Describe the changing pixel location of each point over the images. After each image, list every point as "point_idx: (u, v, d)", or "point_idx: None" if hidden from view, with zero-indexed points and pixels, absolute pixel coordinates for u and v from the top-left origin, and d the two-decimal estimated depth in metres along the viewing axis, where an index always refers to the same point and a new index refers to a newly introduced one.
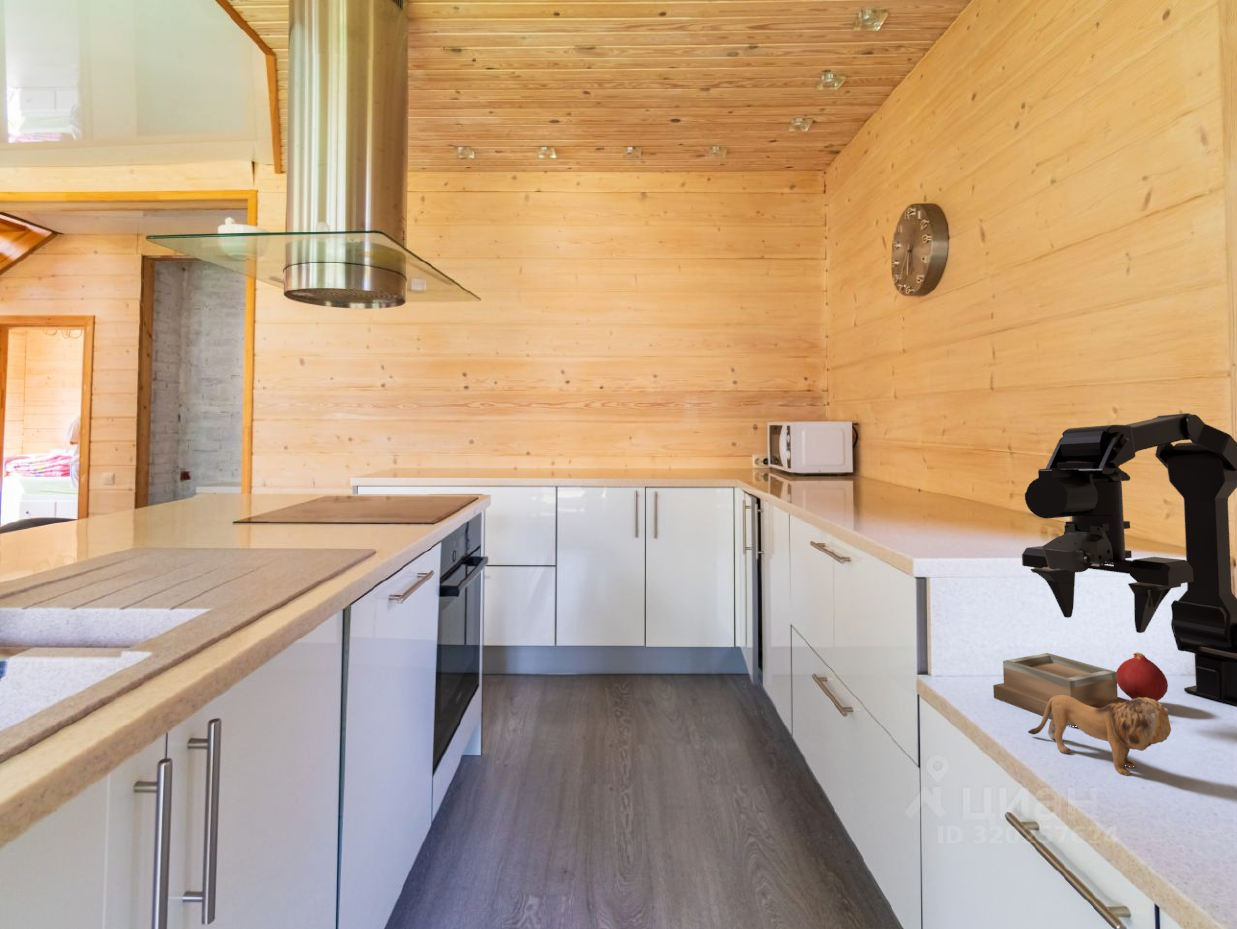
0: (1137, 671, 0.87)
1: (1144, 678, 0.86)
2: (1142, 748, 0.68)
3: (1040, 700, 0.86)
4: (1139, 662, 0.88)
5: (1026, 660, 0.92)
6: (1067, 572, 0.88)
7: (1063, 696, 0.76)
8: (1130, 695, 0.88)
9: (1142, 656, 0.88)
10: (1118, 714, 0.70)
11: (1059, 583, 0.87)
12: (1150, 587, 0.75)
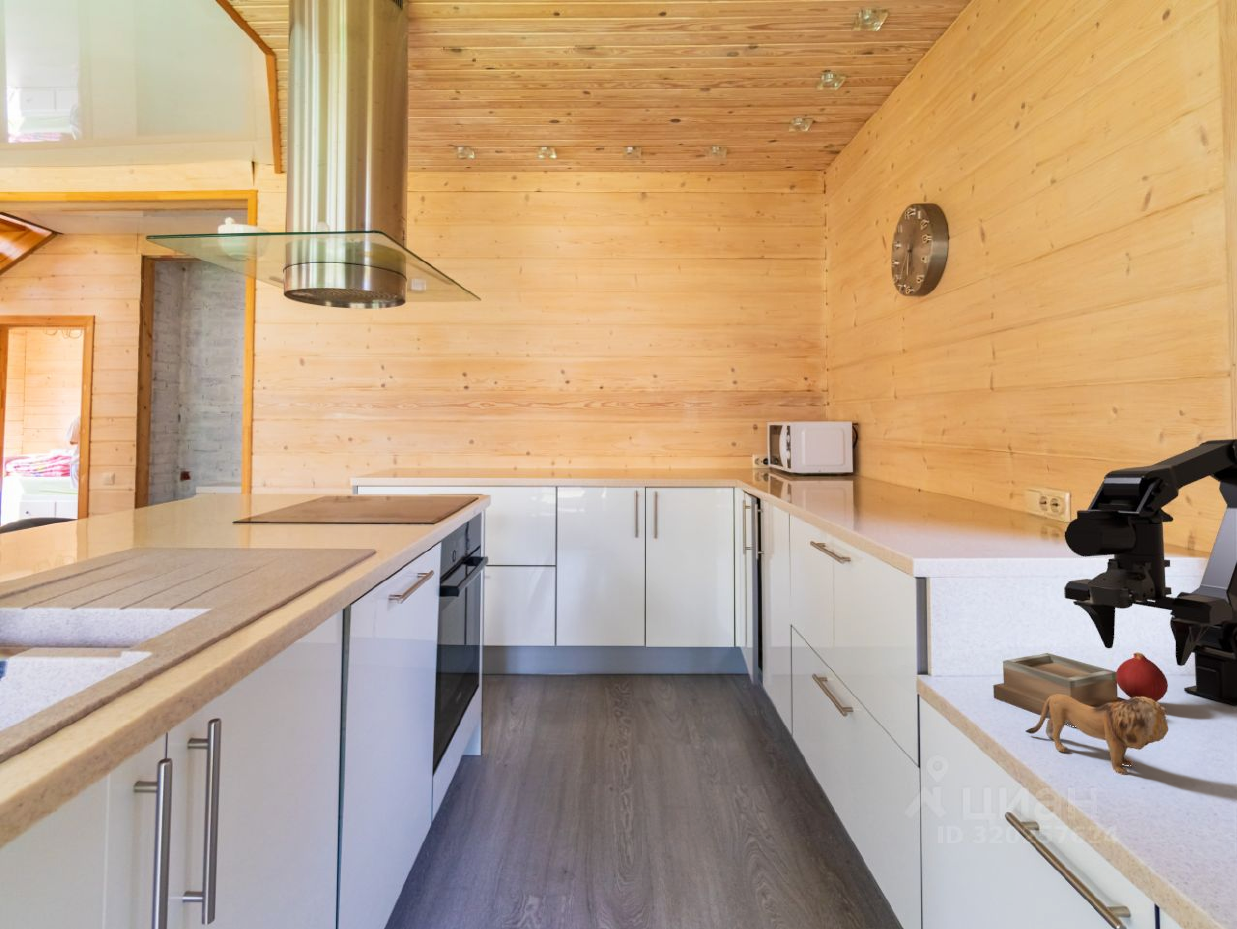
0: (1136, 671, 0.87)
1: (1144, 678, 0.86)
2: (1139, 747, 0.68)
3: (1040, 700, 0.86)
4: (1139, 662, 0.88)
5: (1026, 660, 0.92)
6: (1108, 605, 0.93)
7: (1061, 695, 0.76)
8: (1130, 695, 0.88)
9: (1142, 656, 0.88)
10: (1115, 713, 0.70)
11: (1101, 616, 0.92)
12: (1192, 624, 0.80)
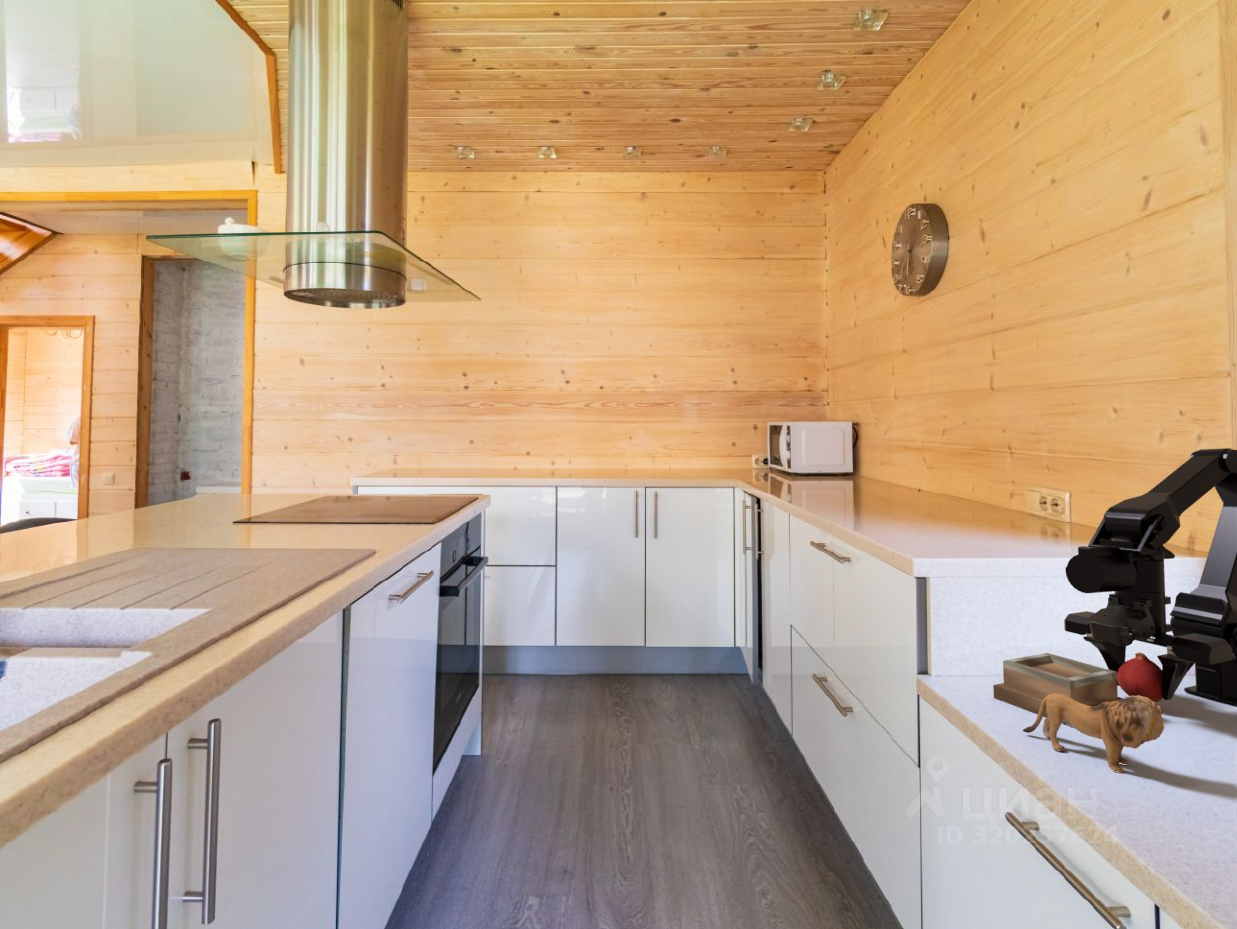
0: (1138, 671, 0.87)
1: (1145, 679, 0.86)
2: (1135, 746, 0.69)
3: (1040, 700, 0.86)
4: (1140, 662, 0.88)
5: (1026, 660, 0.92)
6: None
7: (1057, 694, 0.76)
8: (1131, 695, 0.88)
9: (1144, 656, 0.88)
10: (1111, 712, 0.70)
11: (1111, 653, 0.91)
12: (1178, 661, 0.82)
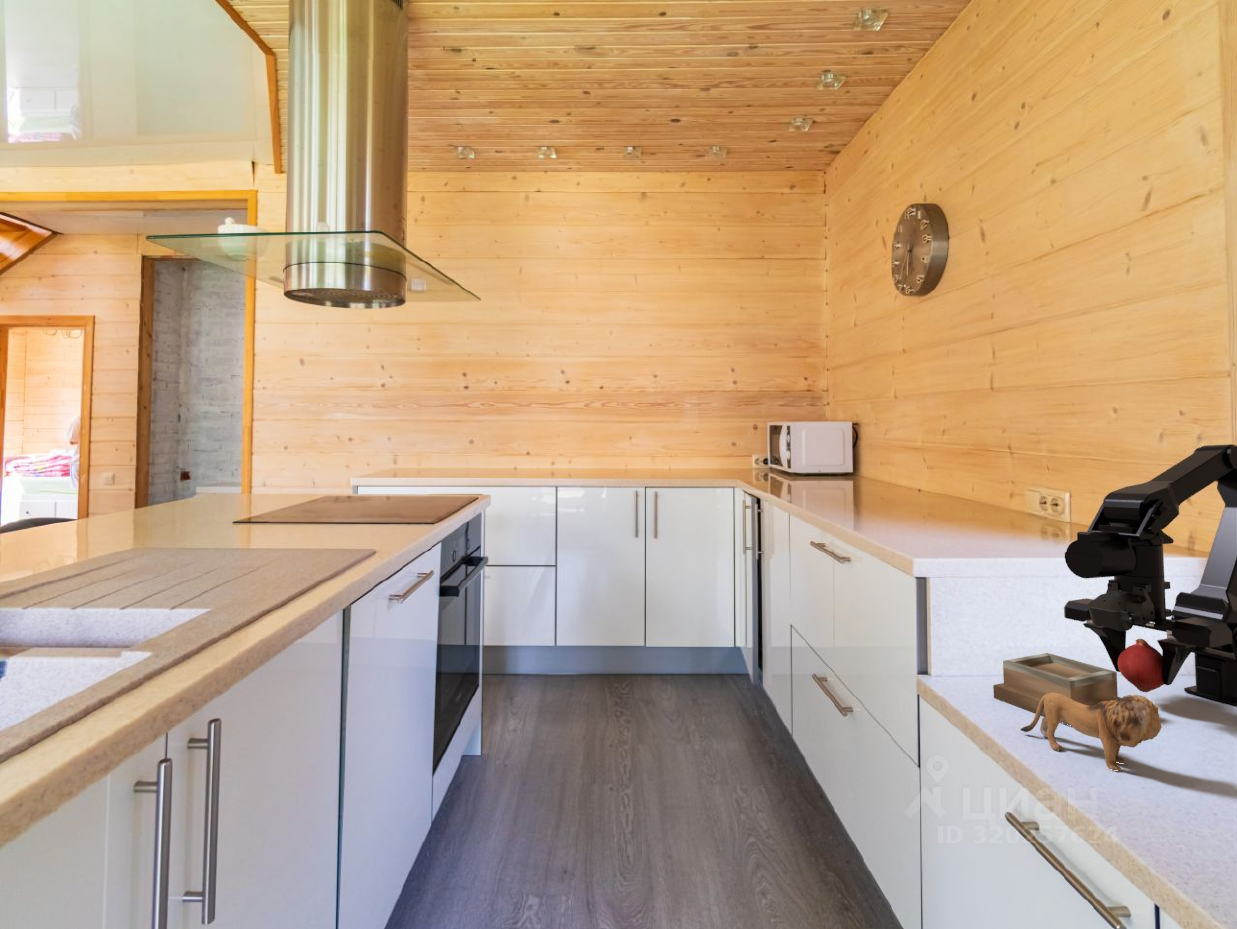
0: (1139, 657, 0.87)
1: (1146, 664, 0.86)
2: (1133, 745, 0.69)
3: None
4: (1141, 648, 0.87)
5: (1026, 660, 0.92)
6: None
7: (1055, 694, 0.77)
8: (1132, 681, 0.88)
9: (1144, 642, 0.88)
10: (1109, 711, 0.70)
11: (1111, 639, 0.91)
12: (1178, 645, 0.81)
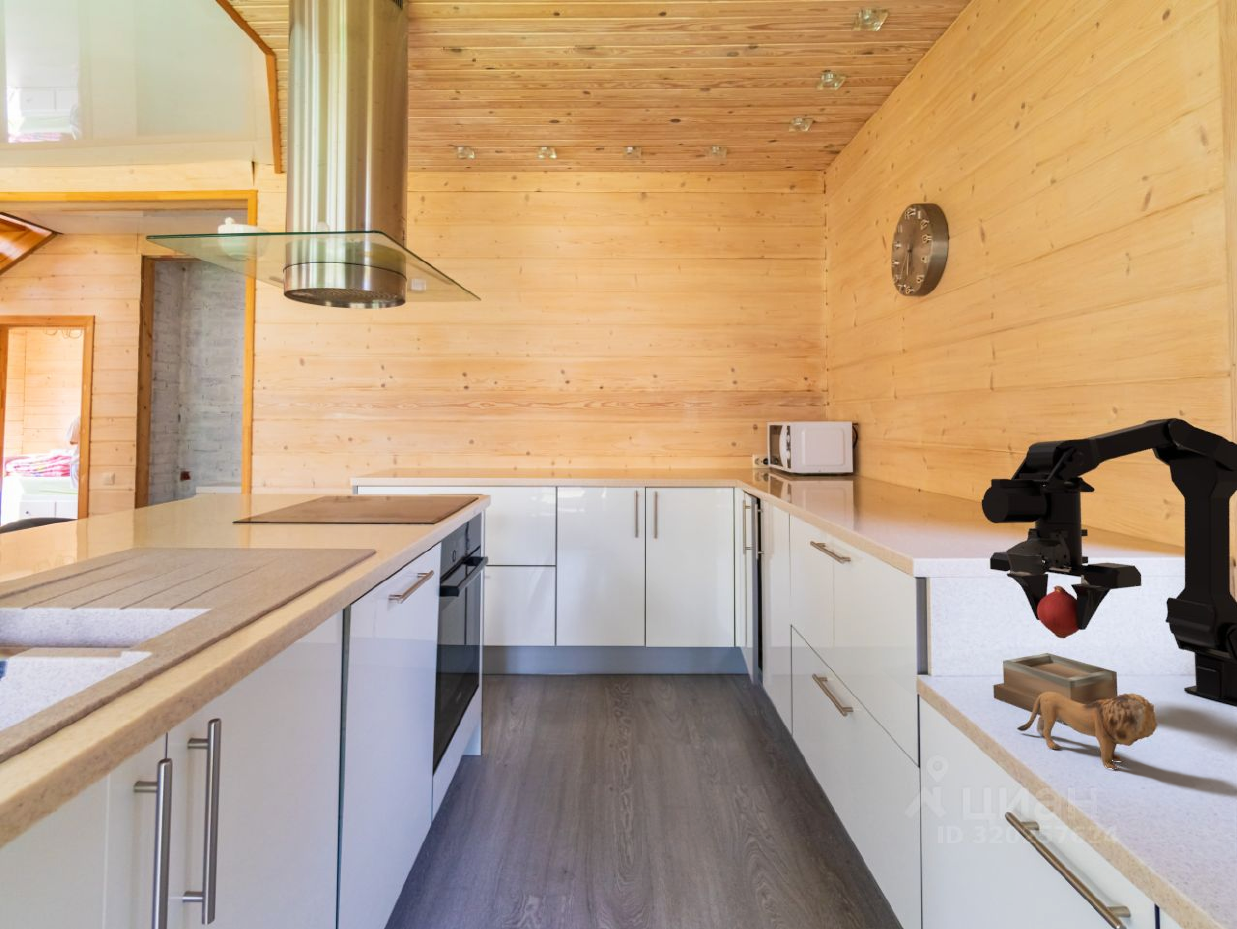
0: (1055, 603, 0.88)
1: (1061, 609, 0.87)
2: (1129, 743, 0.69)
3: None
4: (1058, 594, 0.89)
5: (1026, 660, 0.92)
6: (1040, 577, 0.93)
7: (1052, 693, 0.77)
8: (1049, 627, 0.89)
9: (1062, 589, 0.89)
10: (1105, 710, 0.71)
11: (1032, 588, 0.92)
12: (1089, 588, 0.83)
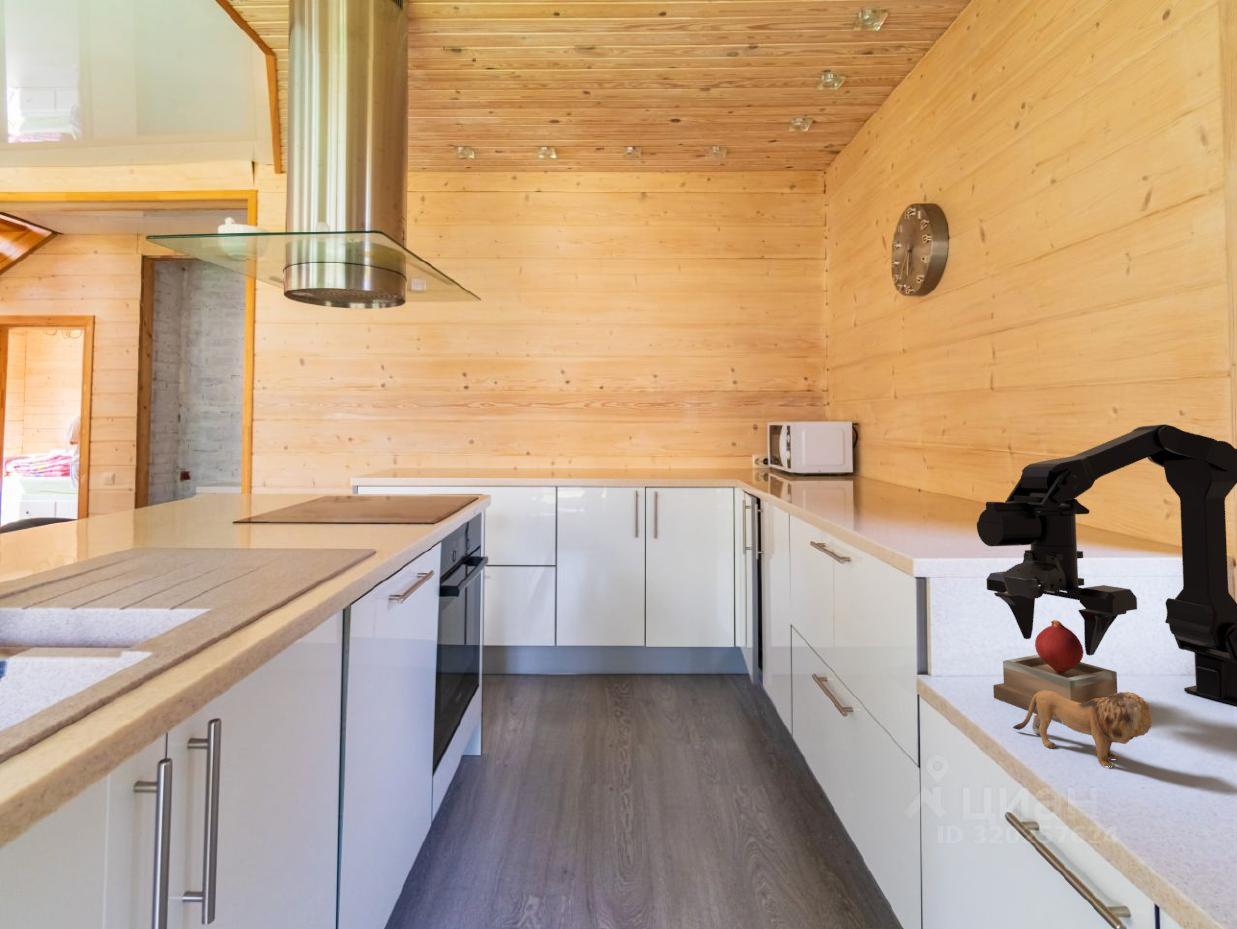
0: (1052, 638, 0.88)
1: (1059, 645, 0.87)
2: (1125, 741, 0.70)
3: None
4: (1055, 629, 0.88)
5: (1026, 660, 0.92)
6: None
7: (1047, 692, 0.78)
8: (1047, 662, 0.89)
9: (1059, 623, 0.89)
10: (1101, 708, 0.71)
11: (1019, 607, 0.94)
12: (1097, 614, 0.81)
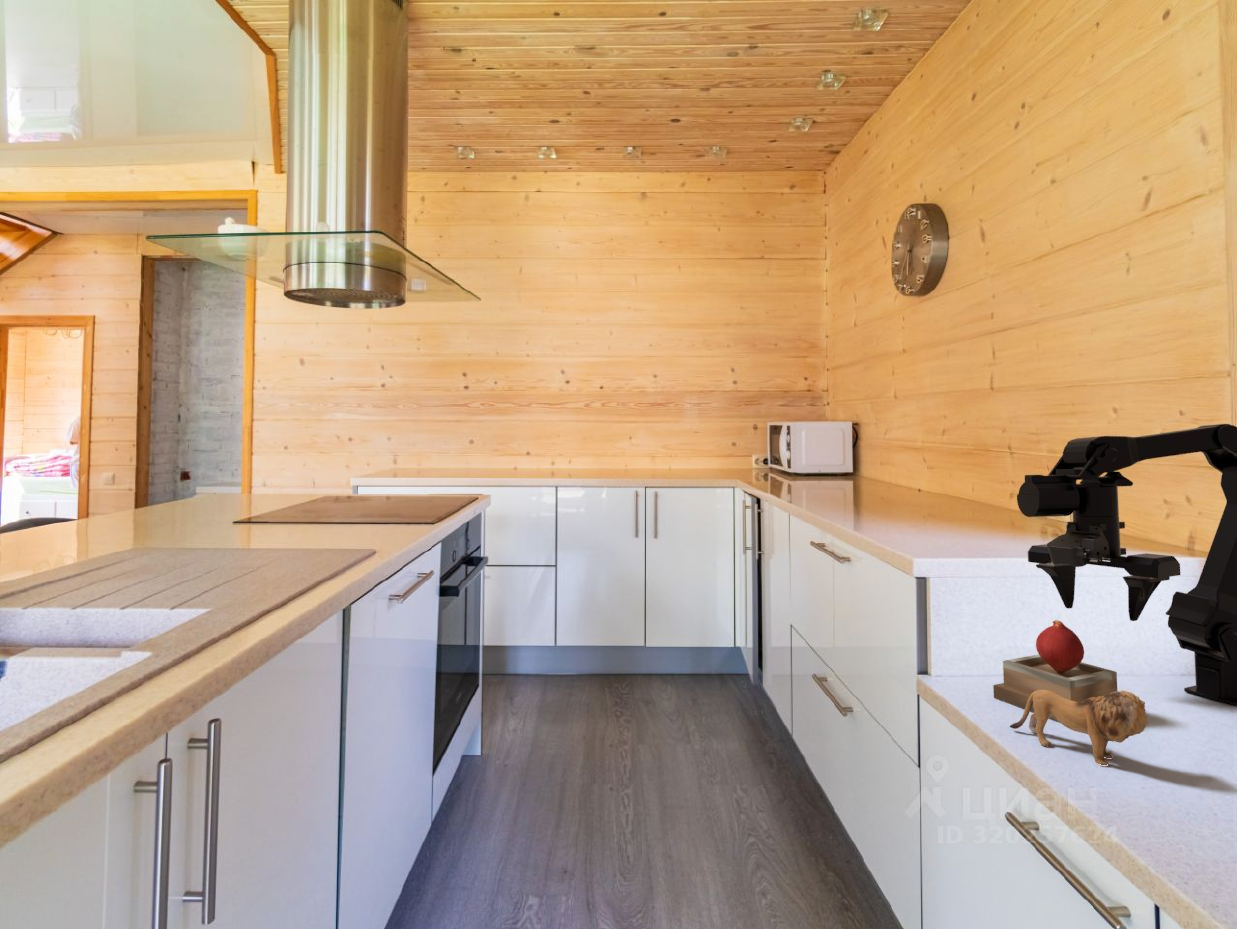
0: (1054, 638, 0.88)
1: (1060, 645, 0.87)
2: (1120, 740, 0.70)
3: None
4: (1057, 629, 0.88)
5: (1026, 660, 0.92)
6: (1068, 568, 0.98)
7: (1044, 691, 0.78)
8: (1048, 662, 0.89)
9: (1060, 624, 0.89)
10: (1097, 707, 0.72)
11: (1061, 578, 0.97)
12: (1142, 580, 0.84)
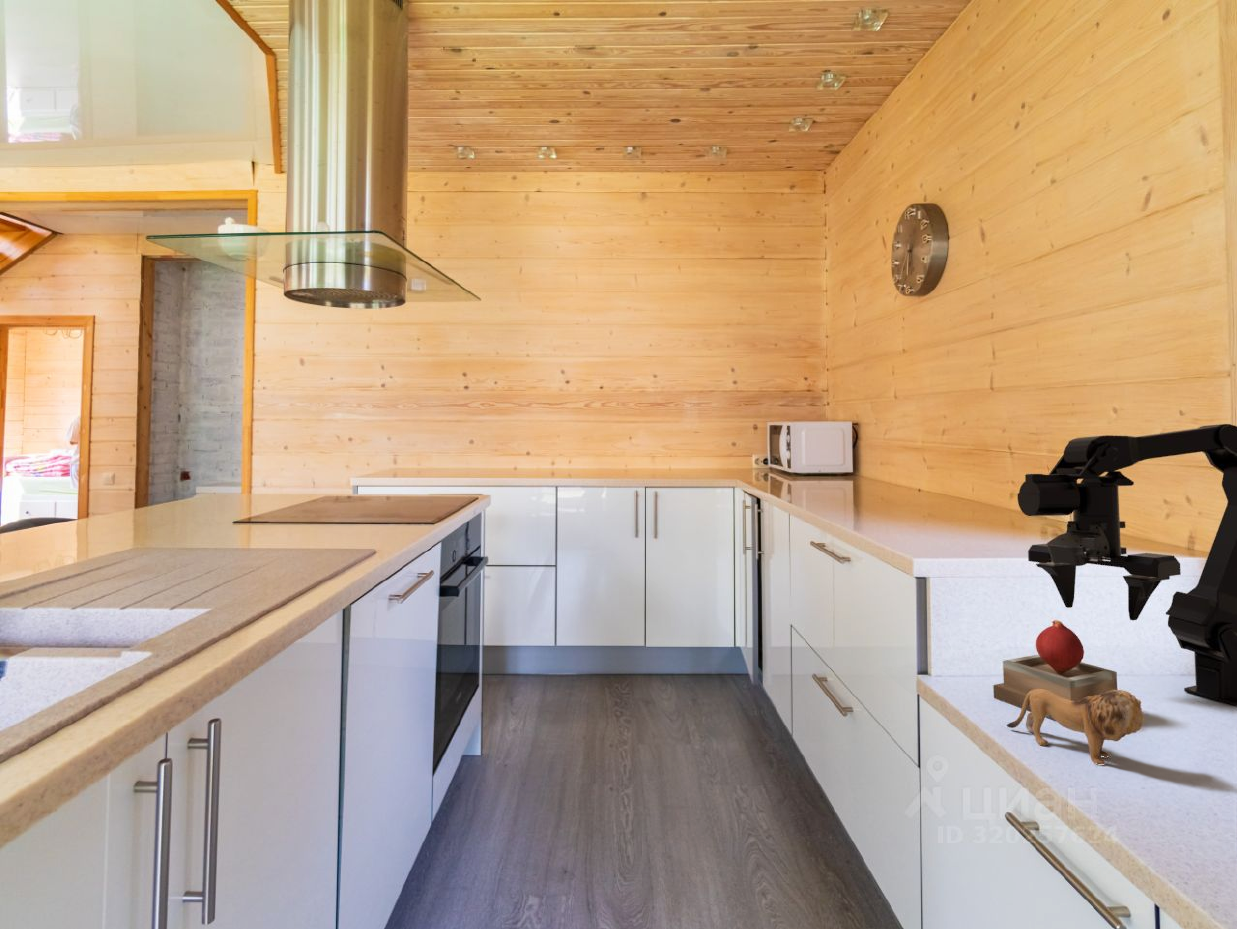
0: (1053, 638, 0.88)
1: (1059, 645, 0.87)
2: (1117, 739, 0.71)
3: None
4: (1056, 629, 0.89)
5: (1026, 660, 0.92)
6: (1069, 567, 0.98)
7: (1041, 690, 0.78)
8: (1048, 662, 0.89)
9: (1060, 623, 0.89)
10: (1094, 706, 0.72)
11: (1061, 577, 0.97)
12: (1142, 579, 0.85)
